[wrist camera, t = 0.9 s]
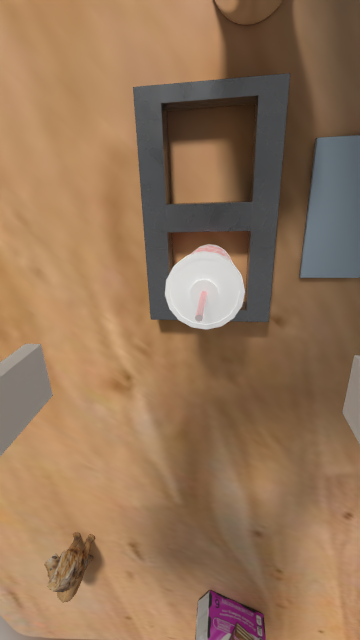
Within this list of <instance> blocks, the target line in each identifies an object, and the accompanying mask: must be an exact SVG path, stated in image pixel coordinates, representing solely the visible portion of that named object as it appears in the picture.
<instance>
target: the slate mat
mask: <svg viewBox="0 0 360 640" xmlns="http://www.w3.org/2000/svg"><path fill="white" fill-rule="evenodd" d="M299 277H300V278H360V135H356V136H339V137H322V138H316V143H315V151H314V159H313V167H312V175H311V184H310V192H309V200H308V208H307V217H306V225H305V233H304V241H303V250H302V258H301V266H300V274H299Z"/></svg>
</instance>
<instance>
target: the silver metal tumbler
mask: <svg viewBox="0 0 360 640" xmlns="http://www.w3.org/2000/svg"><path fill="white" fill-rule="evenodd" d="M282 1H283V0H215V3H216V5H217V7H218V8H219V10H220V11H221V13H222V14H223V15H224V16H225V17H226V18H228V19H229V20H231V21H232V22H234V23H237V24H242V25H250V24H255V23H258V22H260V21H262V20H264V19H265V18H267V17H268V16H270V15H271V14H272V13H273V12H274V11H275V10H276V9H277V8H278V6H279V5H280V4H281V2H282Z"/></svg>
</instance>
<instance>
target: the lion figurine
mask: <svg viewBox="0 0 360 640" xmlns="http://www.w3.org/2000/svg"><path fill="white" fill-rule="evenodd" d="M73 537H74V541H73V543H72V545H71V546H70V547H69V549H68V550H67V551H64V552H63V553H62V554H61V556H60V557H58V555H57V554H54V555H53V557H52V558H50V559H49V560H48V561H47V562H46V563H45V567H46V568H47V571H48V577H49V579H50V580H49V583H48V588H49V589H50V590H53V592H57V596H58V598H59V599H60V600H61V601H62V602H68V601H70V600H71V599H72V598H73V597H74V595H75V594H76V592H77V590H78V588H79V586H80V583H81V581H82V578H83V574H84V571H85V569H86V567H87V565H88V564H89V562H90V561H92V559H93V557H92V556H89V555H88V554H89V550H90V546H91V543H92V541H93V540H94V539H95V536H94V535H92V534H89V535H88V537H87V539H86V545H85V548H84V550H83V552H82V551H81V549H78V548H76V546H77V544H78V543H79V541H80V534H79V533H77V532H76V533H74V534H73Z"/></svg>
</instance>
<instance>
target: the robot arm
mask: <svg viewBox="0 0 360 640" xmlns="http://www.w3.org/2000/svg"><path fill="white" fill-rule="evenodd" d="M52 396H53V394H52V390H51V386H50V381H49V377H48V373H47V368H46V364H45V360H44V355H43V351H42V347H41V344H24V345H23V346H22V347H20V348H19V349H18V350H16V351H15V352H14V353H12V354H11V355H9V356H8V357H7V358H5V359H4V360H3V361H1V362H0V456H1V455H2V454H3V453H4V452H5V450H6V449H7V448H8V447H9V446H10V445H11V443H12V442H13V441H14V440H15V439H16V438H17V436H18V435H19V434H20V433H21V432H22V431H23V429H24V428H25V427H26V426H27V425H28V424H29V423H30V421H31V420H32V419H33V418H34V417H35V416H36V414H37V413H38V412H39V411H40V410H41V409H42V407H43V406H44V405H45V404H46V403H47V402H48V400H49V399H50V398H51V397H52ZM342 413H343V415H344V417H345V419H346V421H347V422H348V424H349V426H350V428H351V430H352V432H353V433H354V435H355V437H356V439H357V441H358V443H359V444H360V355H354V359H353V364H352V369H351V374H350V378H349V383H348V388H347V393H346V397H345V402H344V407H343V412H342Z"/></svg>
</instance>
